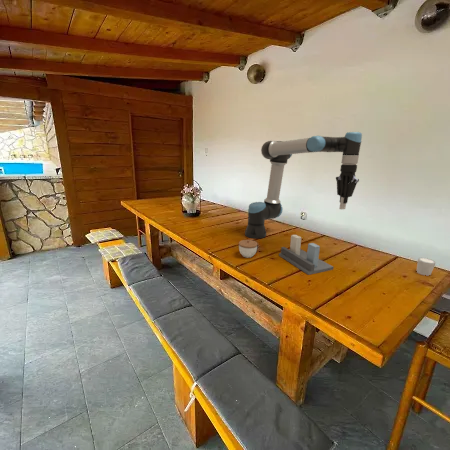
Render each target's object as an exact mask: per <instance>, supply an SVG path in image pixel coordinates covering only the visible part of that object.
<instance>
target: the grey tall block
mask: <svg viewBox="0 0 450 450" xmlns="http://www.w3.org/2000/svg"><path fill="white" fill-rule="evenodd" d="M320 249H321V246H320V245H318V244H317V243H314V242H311V243H310V242H309V243H308V244H307V251H306V252H307V259H306V260H308V261H309V262H311V263H313V264H315V266H314V267H317V265H318V259H320V258H319V255H320Z"/></svg>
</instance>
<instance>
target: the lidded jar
mask: <svg viewBox="0 0 450 450" xmlns="http://www.w3.org/2000/svg"><path fill="white" fill-rule="evenodd" d="M238 250H239V253H240V254H241V256H242V257H244V258H247V259H248V258H252V257H253V256H254V255H256V253H257V251H258V242H257V241H255V240H251V239H242V240H240V241H239V242H238Z"/></svg>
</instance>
